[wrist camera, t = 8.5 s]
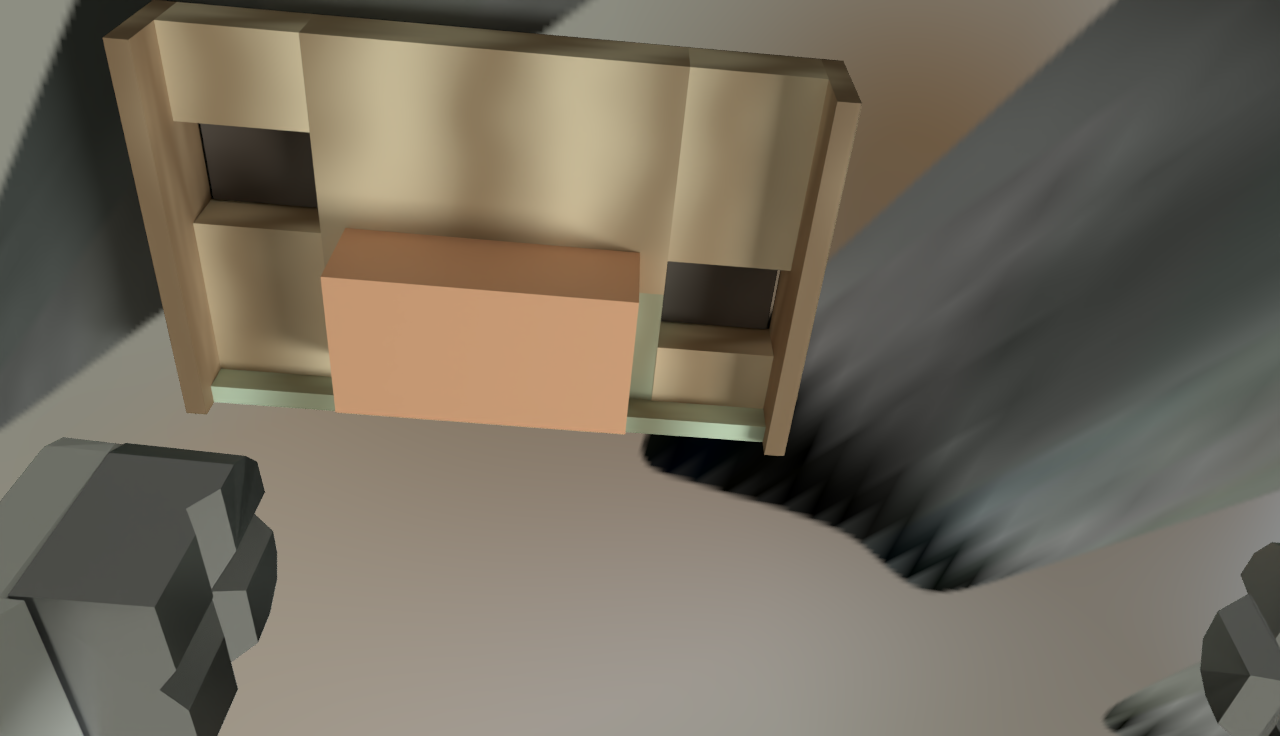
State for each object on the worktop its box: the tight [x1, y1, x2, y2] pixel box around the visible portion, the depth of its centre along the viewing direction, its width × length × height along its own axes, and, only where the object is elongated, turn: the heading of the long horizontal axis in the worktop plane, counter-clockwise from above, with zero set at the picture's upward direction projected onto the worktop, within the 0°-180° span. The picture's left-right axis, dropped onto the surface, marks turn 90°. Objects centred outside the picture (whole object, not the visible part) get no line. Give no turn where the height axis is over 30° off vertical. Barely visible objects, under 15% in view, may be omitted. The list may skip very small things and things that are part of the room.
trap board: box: [103, 0, 862, 456], centre depth 38 cm, size 24×15×4 cm, turn 85°
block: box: [321, 228, 640, 434], centre depth 39 cm, size 11×6×4 cm, turn 85°
